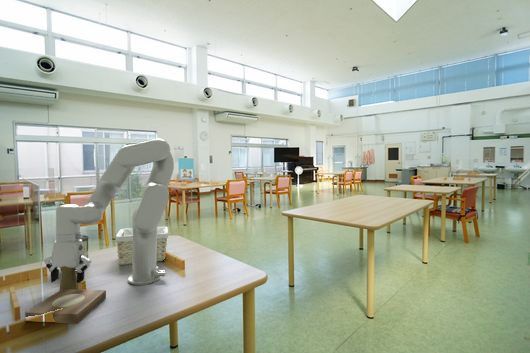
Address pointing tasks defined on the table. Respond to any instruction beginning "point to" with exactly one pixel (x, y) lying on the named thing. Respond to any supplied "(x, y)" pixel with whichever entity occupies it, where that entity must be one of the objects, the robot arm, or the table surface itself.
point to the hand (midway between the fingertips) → (67, 281)
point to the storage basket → (126, 241)
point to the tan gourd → (68, 278)
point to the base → (69, 304)
